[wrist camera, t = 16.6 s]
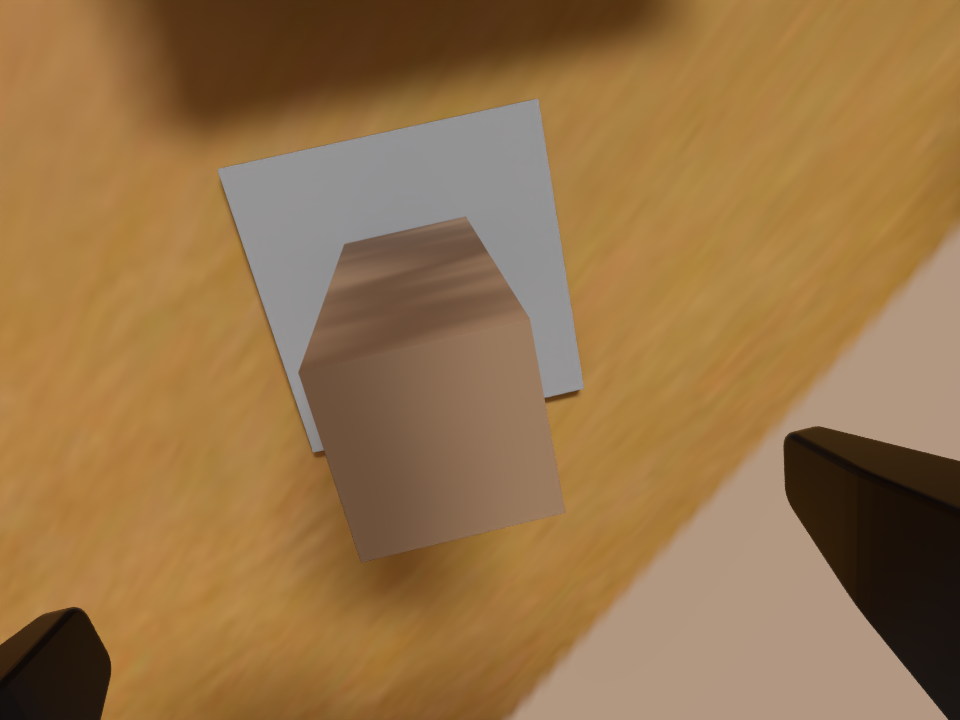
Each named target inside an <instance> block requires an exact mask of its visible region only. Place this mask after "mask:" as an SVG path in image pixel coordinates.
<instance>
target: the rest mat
mask: <svg viewBox="0 0 960 720" xmlns="http://www.w3.org/2000/svg"><path fill="white" fill-rule="evenodd" d="M218 173H219V176H220V179H221V182H222V184H223V187H224V190H225V193H226V196H227V199H228V202H229V205H230V208H231V211H232V214H233V217H234V220H235V223H236V226H237V229H238V232H239V235H240V238H241V241H242V244H243V246H244V249H245V252H246V255H247V258H248V261H249V264H250V267H251V270H252V273H253V276H254V279H255V282H256V285H257V288H258V291H259V294H260V297H261V300H262V303H263V305H264V308H265V311H266V314H267V317H268V320H269V323H270V326H271V329H272V332H273V335H274V338H275V341H276V344H277V347H278V350H279V353H280V356H281V359H282V362H283V365H284V367H285V370H286V373H287V376H288V379H289V382H290V385H291V388H292V391H293V394H294V397H295V400H296V403H297V406H298V409H299V412H300V415H301V418H302V421H303V424H304V427H305V429H306V432H307V435H308V438H309V441H310V444H311V447H312V450H313V453H314V452H318V451H322V450H324V449H323V446H322V443H321V440H320V437H319V434H318V431H317V428H316V425H315V422H314V419H313V416H312V413H311V410H310V407H309V404H308V401H307V398H306V395H305V392H304V389H303V386H302V383H301V380H300V377H299V374H298V372H299V369H300V366H301V363H302V361H303V358H304V355H305V352H306V349H307V347H308V344H309V341H310V338H311V336H312V333H313V330H314V327H315V324H316V322H317V319H318V316H319V313H320V310H321V308H322V305H323V302H324V299H325V296H326V294H327V291H328V288H329V285H330V282H331V280H332V277H333V274H334V271H335V268H336V266H337V263H338V260H339V257H340V254H341V252H342V249H343V246H344V244H346V243H350V242H354V241H359V240H363V239H368V238H372V237H377V236H381V235H386V234H390V233H394V232H399V231H403V230H408V229H412V228H417V227H421V226H425V225H430V224H434V223H439V222H443V221H448V220H452V219H457V218H461V217H465V216H466V218H467V219H468V221H469V222H470V224H471V226H472V227H473V229H474V230H475V232H476V234H477V235H478V237H479V238H480V240H481V242H482V243H483V245H484V246H485V248H486V250H487V251H488V253H489V254H490V256H491V258H492V259H493V261H494V262H495V264H496V266H497V267H498V269H499V270H500V272H501V274H502V275H503V277H504V278H505V280H506V282H507V283H508V285H509V286H510V288H511V290H512V291H513V293H514V294H515V296H516V298H517V299H518V301H519V302H520V304H521V306H522V307H523V309H524V310H525V312H526V314H527V315H528V317H529V318H530V322H531V328H532V333H533V338H534V344H535V349H536V355H537V360H538V366H539V371H540V377H541V382H542V388H543V393H544V398H546V397H551V396H555V395H559V394H563V393H568V392H572V391H576V390H580V389H584V386H583V380H582V373H581V367H580V361H579V354H578V348H577V342H576V335H575V329H574V322H573V316H572V310H571V303H570V297H569V291H568V284H567V278H566V272H565V265H564V259H563V253H562V246H561V240H560V234H559V227H558V221H557V215H556V208H555V202H554V196H553V189H552V183H551V177H550V170H549V164H548V158H547V151H546V145H545V139H544V132H543V126H542V120H541V113H540V107H539V101H538V99H534V100H529V101H525V102H520V103H516V104H511V105H507V106H502V107H497V108H493V109H488V110H484V111H479V112H475V113H470V114H466V115H461V116H456V117H452V118H447V119H443V120H438V121H434V122H429V123H425V124H420V125H415V126H411V127H406V128H402V129H397V130H393V131H388V132H384V133H379V134H375V135H370V136H365V137H361V138H356V139H352V140H347V141H343V142H338V143H334V144H329V145H324V146H320V147H315V148H311V149H306V150H302V151H297V152H293V153H288V154H284V155H279V156H274V157H270V158H265V159H261V160H256V161H252V162H247V163H243V164H238V165H233V166H229V167H224V168H220V169H218Z"/></svg>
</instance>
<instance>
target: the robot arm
mask: <svg viewBox="0 0 960 720" xmlns="http://www.w3.org/2000/svg"><path fill="white" fill-rule="evenodd" d="M784 474H785V491H786V495H787V498H788V501H789V503H790V505H791V507H792V509H793V510H794V512H795V513H796V515H797V517H798V518H799V520H800V521H801V523H802V524H803V526H804V527H805V529H806V530H807V532H808V533H809V535H810V536H811V538H812V540H813V541H814V543H815V544H816V546H817V547H818V549H819V550H820V552H821V553H822V555H823V556H824V558H825V559H826V561H827V563H828V564H829V566H830V567H831V568H832V570H833V572H834V573H835V575H836V576H837V578H838V579H839V581H840V582H841V584H842V586H843V587H844V589H845V590H846V592H847V593H848V594H849V596H850V597H851V599H852V600H853V602H854V603H855V605H856V606H857V607H858V609H859V610H860V611H861V612H862V614H863V615H864V616H865V618H866V619H867V620H868V621H869V623H870V624H871V625H872V626H873V628H874V629H875V630H876V631H877V633H878V634H879V635H880V636H881V637H882V638H883V640H884V641H885V642H886V644H887V645H888V646H889V647H890V648H891V650H892V651H893V652H894V653H895V655H896V656H897V657H898V658H899V660H900V661H901V662H902V663H903V665H904V666H905V667H906V668H907V669H908V671H909V672H910V673H911V674H912V675H913V677H914V678H915V679H916V680H917V682H918V683H919V684H920V685H921V687H922V688H923V689H924V690H925V691H926V693H927V694H928V695H929V697H930V698H931V699H932V700H933V701H934V703H935V704H936V705H937V706H938V708H939V709H940V710H941V711H942V713H943V714H944V715H945V716H946V717H947V719H948V720H960V461H957V460H953V459H949V458H945V457H941V456H937V455H933V454H929V453H925V452H921V451H917V450H912V449H909V448H905V447H901V446H897V445H892V444H889V443H885V442H881V441H877V440H873V439H869V438H864V437H860V436H857V435H853V434H848V433H844V432H840V431H836V430H832V429H828V428H824V427H819V426H817V427H811V428H807V429H803V430H799V431H794V432H791V433H789V434H788V435H787V436H786V437H785V440H784ZM110 677H111V661H110V657H109V655H108V652H107V650H106V649H105V647H104V645H103V643H102V641H101V639H100V637H99V636H98V634H97V632H96V630H95V628H94V626H93V625H92V623H91V621H90V619H89V617H88V615H87V614H86V613H85V612H84V611H83V610H82V609H80V608H77V607H70V608H66V609H62V610H58V611H54V612H50V613H46V614H43V615H41V616H39V617H38V618H36V619H35V620H34V621H32V622H31V623H30V624H28V625H27V626H25V627H24V628H23V629H21V630H20V631H19V632H17V633H16V634H15V635H13V636H12V637H11V638H9V639H8V640H6V641H5V642H4V643H2V644H1V645H0V720H101V716H102V712H103V707H104V703H105V699H106V694H107V690H108V686H109V681H110Z"/></svg>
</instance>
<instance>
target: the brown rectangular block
mask: <svg viewBox="0 0 960 720" xmlns="http://www.w3.org/2000/svg"><path fill="white" fill-rule="evenodd" d="M298 374H299V377H300V380H301V383H302V386H303V389H304V392H305V395H306V398H307V401H308V404H309V407H310V410H311V413H312V416H313V419H314V422H315V425H316V428H317V431H318V434H319V437H320V440H321V443H322V446H323V449H324V452H325V455H326V458H327V461H328V464H329V467H330V470H331V473H332V476H333V479H334V482H335V485H336V488H337V491H338V494H339V497H340V500H341V503H342V506H343V509H344V512H345V516H346V519H347V522H348V525H349V528H350V531H351V534H352V537H353V540H354V543H355V546H356V549H357V552H358V555H359V558H360V561H361V563H362V562H366V561H370V560H374V559H378V558H382V557H386V556H390V555H395V554H399V553H403V552H407V551H411V550H415V549H419V548H423V547H427V546H432V545H436V544H440V543H444V542H448V541H452V540H456V539H460V538H464V537H469V536H473V535H477V534H481V533H485V532H489V531H493V530H497V529H501V528H506V527H510V526H514V525H518V524H522V523H526V522H530V521H534V520H538V519H543V518H547V517H551V516H555V515H559V514H563V513H565V508H564V502H563V497H562V491H561V486H560V480H559V475H558V470H557V464H556V459H555V453H554V448H553V442H552V437H551V431H550V426H549V420H548V415H547V409H546V404H545V399H544V393H543V388H542V382H541V377H540V371H539V366H538V360H537V355H536V349H535V344H534V338H533V333H532V328H531V322H530V318H529V317H528V315H527V314H526V312H525V310H524V309H523V307H522V306H521V304H520V302H519V301H518V299H517V298H516V296H515V294H514V293H513V291H512V290H511V288H510V286H509V285H508V283H507V282H506V280H505V278H504V277H503V275H502V274H501V272H500V270H499V269H498V267H497V266H496V264H495V262H494V261H493V259H492V258H491V256H490V254H489V253H488V251H487V250H486V248H485V246H484V245H483V243H482V242H481V240H480V238H479V237H478V235H477V234H476V232H475V230H474V229H473V227H472V226H471V224H470V222H469V221H468V219H467V218H466V216H465V217H461V218H457V219H452V220H448V221H443V222H439V223H434V224H430V225H425V226H421V227H417V228H412V229H408V230H403V231H399V232H394V233H390V234H386V235H381V236H377V237H372V238H368V239H363V240H359V241H354V242H350V243H346V244H344V246H343V249H342V252H341V254H340V257H339V260H338V263H337V266H336V268H335V271H334V274H333V277H332V280H331V282H330V285H329V288H328V291H327V294H326V296H325V299H324V302H323V305H322V308H321V310H320V313H319V316H318V319H317V322H316V324H315V327H314V330H313V333H312V336H311V338H310V341H309V344H308V347H307V349H306V352H305V355H304V358H303V361H302V363H301V366H300V369H299V372H298Z"/></svg>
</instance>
